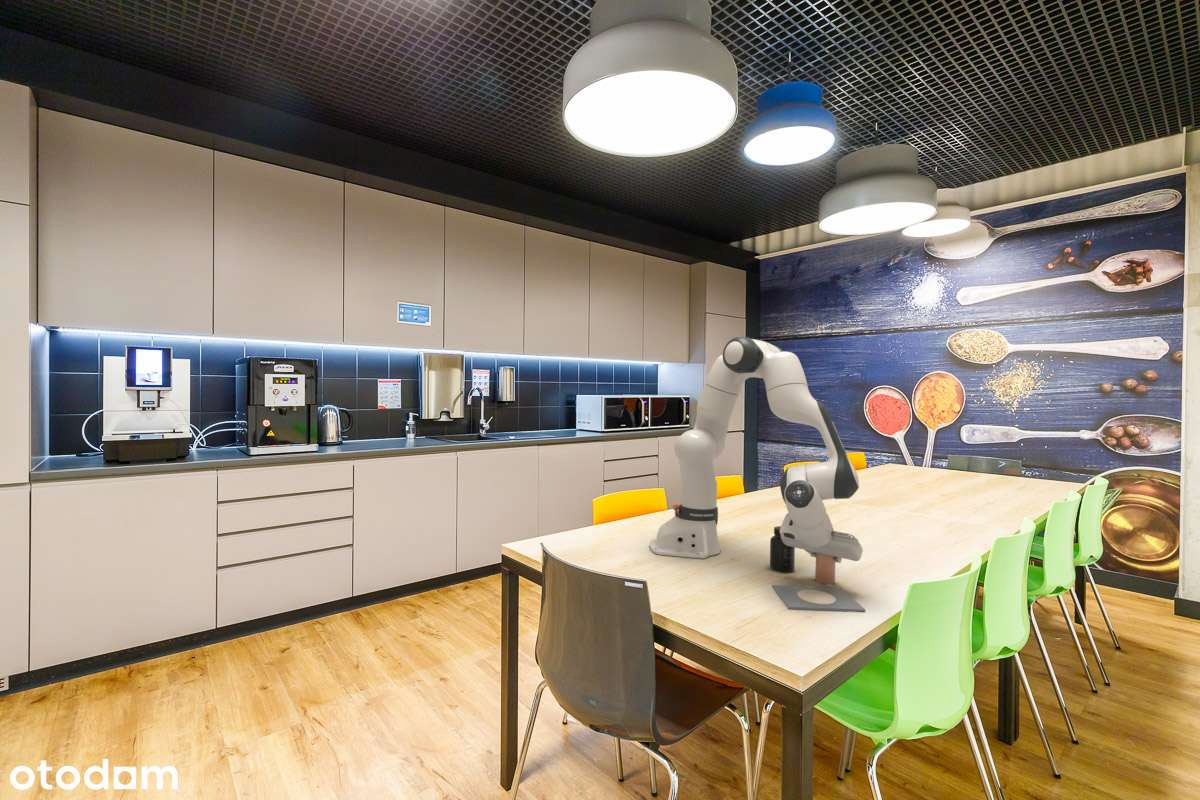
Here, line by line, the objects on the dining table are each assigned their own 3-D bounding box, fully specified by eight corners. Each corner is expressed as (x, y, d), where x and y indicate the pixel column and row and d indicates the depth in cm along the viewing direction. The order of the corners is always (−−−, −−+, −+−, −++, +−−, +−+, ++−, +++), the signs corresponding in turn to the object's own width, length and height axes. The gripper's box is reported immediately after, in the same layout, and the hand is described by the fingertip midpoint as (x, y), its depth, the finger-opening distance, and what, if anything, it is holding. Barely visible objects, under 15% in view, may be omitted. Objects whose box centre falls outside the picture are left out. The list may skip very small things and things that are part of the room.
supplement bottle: (794, 566, 161) (795, 526, 161) (794, 574, 155) (795, 532, 154) (769, 563, 163) (771, 524, 163) (768, 571, 157) (770, 529, 157)
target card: (788, 609, 130) (788, 606, 130) (772, 587, 144) (772, 584, 144) (865, 612, 130) (865, 609, 130) (841, 589, 144) (841, 587, 144)
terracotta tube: (818, 584, 147) (820, 540, 147) (812, 577, 152) (813, 535, 152) (837, 584, 147) (839, 540, 147) (830, 578, 152) (832, 535, 152)
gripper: (859, 526, 137) (869, 556, 145) (781, 512, 151) (794, 540, 158) (853, 547, 134) (864, 577, 142) (773, 531, 148) (787, 558, 155)
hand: (826, 557), depth 150 cm, fingers closed on terracotta tube, 5 cm apart
